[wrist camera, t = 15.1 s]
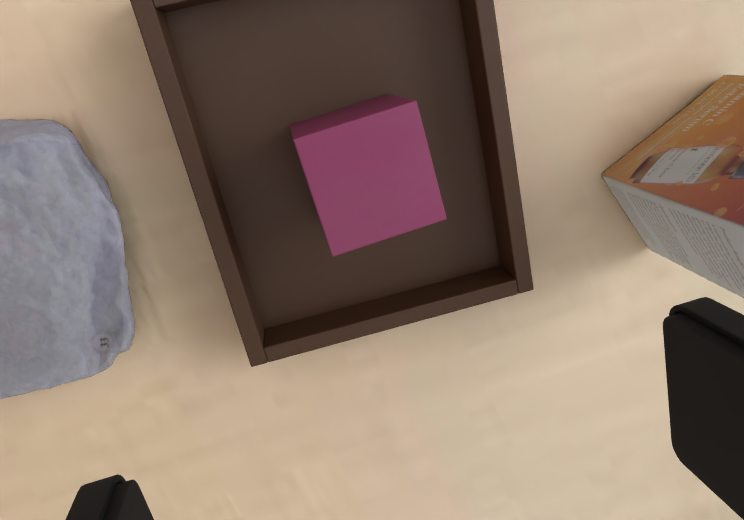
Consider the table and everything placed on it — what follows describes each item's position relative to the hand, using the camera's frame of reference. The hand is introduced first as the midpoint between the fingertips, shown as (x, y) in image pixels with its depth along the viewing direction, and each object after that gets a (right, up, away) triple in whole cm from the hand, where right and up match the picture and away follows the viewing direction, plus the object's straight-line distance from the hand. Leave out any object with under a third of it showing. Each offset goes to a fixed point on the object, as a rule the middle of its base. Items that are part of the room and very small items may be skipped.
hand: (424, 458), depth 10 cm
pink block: (-2, +8, +18) cm, 20 cm away
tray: (-2, +9, +18) cm, 20 cm away
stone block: (-17, +4, +18) cm, 25 cm away
